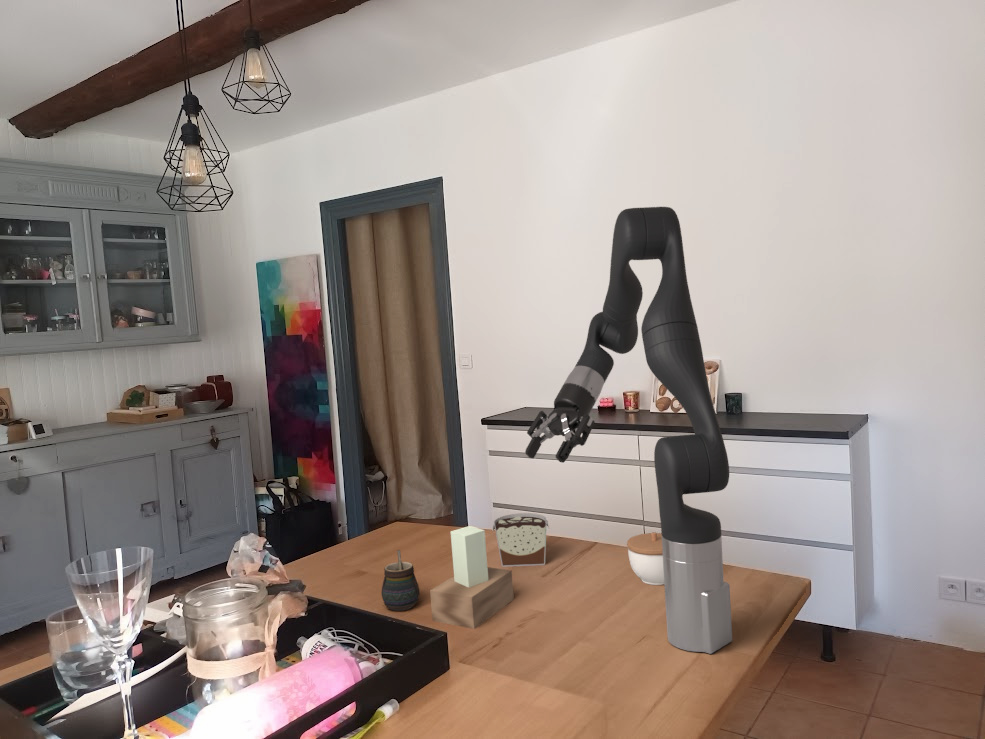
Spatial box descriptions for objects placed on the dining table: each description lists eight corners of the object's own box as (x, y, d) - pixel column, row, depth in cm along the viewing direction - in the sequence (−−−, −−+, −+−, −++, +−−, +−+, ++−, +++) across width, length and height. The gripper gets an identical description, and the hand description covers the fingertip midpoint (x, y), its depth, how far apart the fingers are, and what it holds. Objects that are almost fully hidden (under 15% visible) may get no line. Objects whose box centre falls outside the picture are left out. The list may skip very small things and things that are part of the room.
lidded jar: (671, 593, 138) (668, 544, 138) (619, 584, 145) (616, 537, 144) (693, 574, 147) (690, 528, 146) (643, 566, 153) (641, 522, 153)
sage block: (488, 580, 136) (484, 530, 136) (468, 587, 134) (464, 536, 133) (473, 574, 140) (470, 525, 139) (454, 581, 137) (450, 531, 136)
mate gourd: (385, 617, 137) (380, 564, 137) (380, 602, 145) (376, 552, 144) (423, 610, 139) (419, 558, 139) (416, 596, 147) (412, 547, 146)
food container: (552, 555, 165) (549, 511, 164) (552, 564, 159) (548, 519, 158) (497, 557, 166) (494, 513, 165) (495, 566, 160) (491, 521, 159)
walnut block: (513, 600, 141) (511, 570, 141) (474, 630, 130) (471, 597, 129) (474, 594, 146) (471, 564, 146) (432, 622, 134) (430, 590, 134)
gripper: (545, 381, 155) (508, 444, 149) (596, 382, 144) (559, 450, 138) (564, 403, 159) (529, 465, 152) (615, 405, 148) (580, 472, 142)
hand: (543, 458), depth 145 cm, fingers open, 8 cm apart
